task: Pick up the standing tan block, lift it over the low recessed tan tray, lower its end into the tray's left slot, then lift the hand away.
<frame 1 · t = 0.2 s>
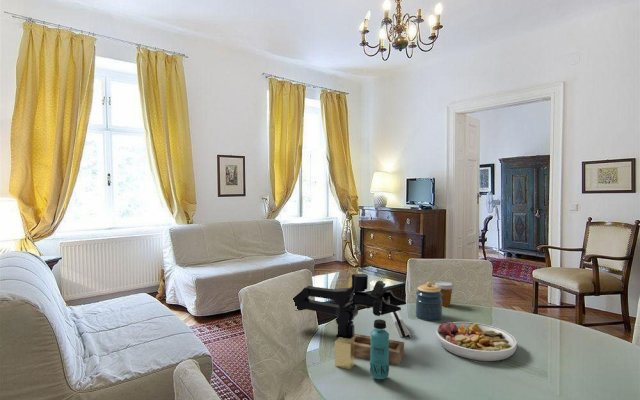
hand: (403, 305, 150), 17 cm above the table, tool horizontal, fingers open, 9 cm apart
bowl: (474, 347, 150), on the table
disposable coffee cup: (443, 305, 203), on the table
recessed tan tray: (375, 354, 144), on the table
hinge: (398, 330, 168), on the table
beverage bottle: (379, 379, 125), on the table
tan block: (344, 365, 135), on the table
canister: (428, 317, 185), on the table
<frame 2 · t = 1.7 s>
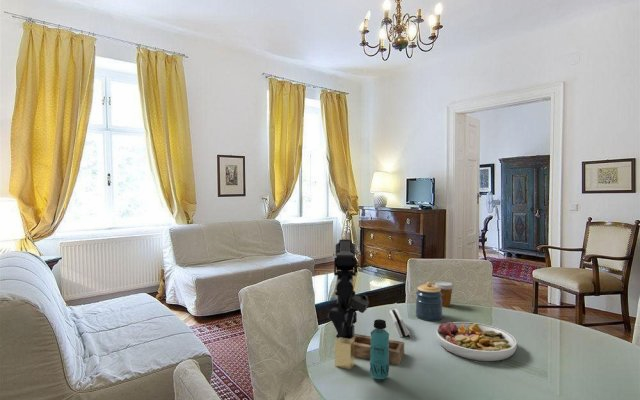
hand: (345, 331, 135), 13 cm above the table, tool pointing down, fingers open, 9 cm apart
nothing on the table moved.
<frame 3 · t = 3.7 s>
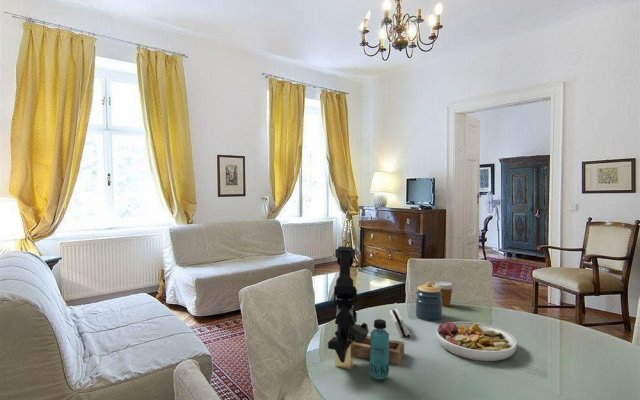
hand: (344, 359, 135), 2 cm above the table, tool pointing down, fingers closed on tan block, 4 cm apart
tan block: (344, 364, 135), on the table, touching gripper
everything else where it was.
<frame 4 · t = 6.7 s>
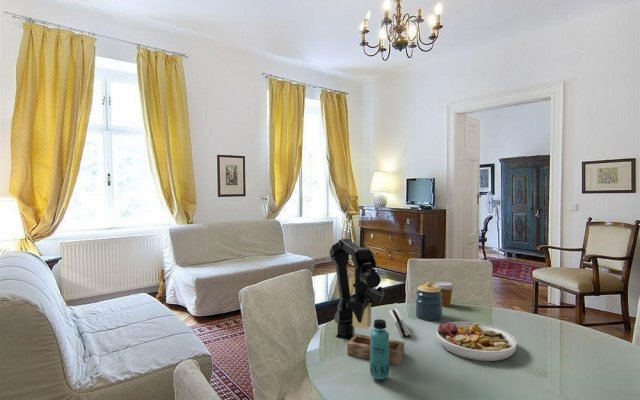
hand: (361, 320, 144), 13 cm above the table, tool pointing down, fingers closed on tan block, 4 cm apart
tan block: (361, 325, 144), point 11 cm above the table, touching gripper
everything else where it was.
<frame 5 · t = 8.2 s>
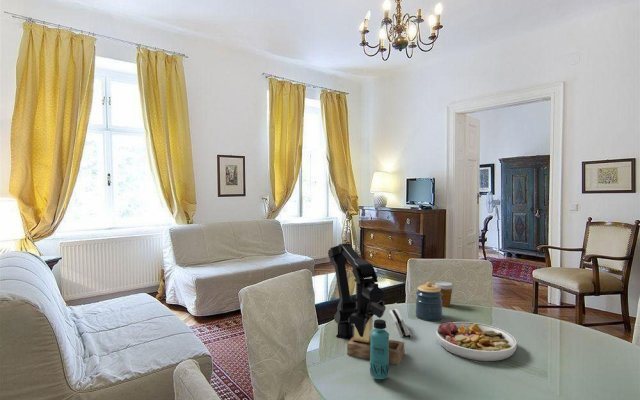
hand: (363, 334, 145), 7 cm above the table, tool pointing down, fingers closed on tan block, 4 cm apart
tan block: (363, 339, 145), point 5 cm above the table, touching gripper
everything else where it was.
when the fingers open (5 cm above the table, at t = 9.7 s): tan block drops 1 cm, resting on recessed tan tray.
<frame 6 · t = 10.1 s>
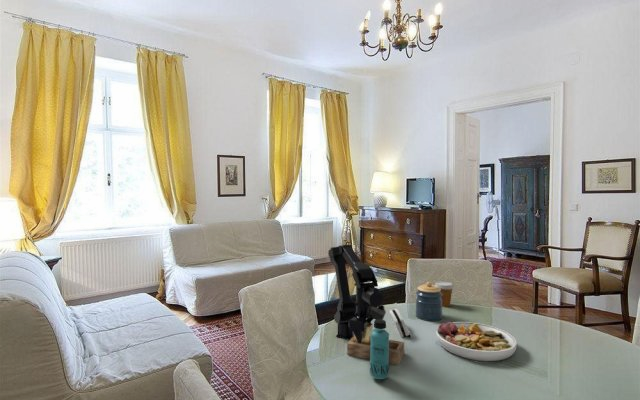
hand: (363, 338, 145), 5 cm above the table, tool pointing down, fingers open, 9 cm apart
tan block: (363, 346, 146), point 2 cm above the table, touching recessed tan tray
everything else where it was.
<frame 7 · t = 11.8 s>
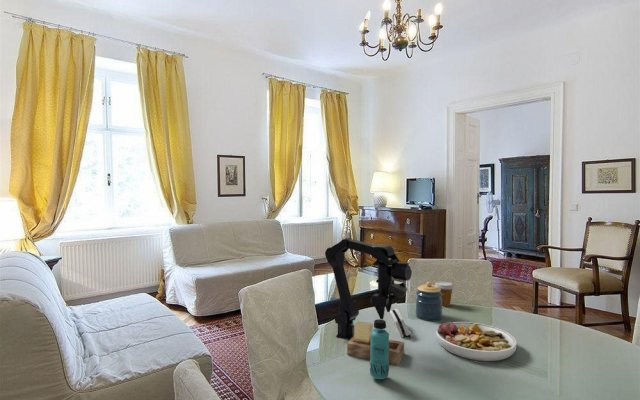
hand: (385, 315, 149), 13 cm above the table, tool pointing down, fingers open, 9 cm apart
nothing on the table moved.
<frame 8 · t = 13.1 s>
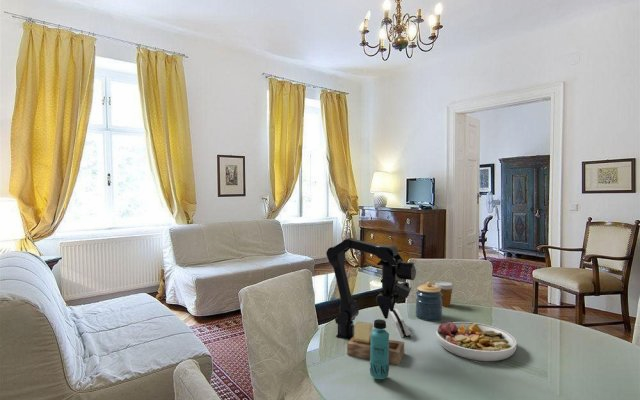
hand: (389, 314, 150), 13 cm above the table, tool pointing down, fingers open, 9 cm apart
nothing on the table moved.
at the end: tan block 0.0 cm from the target spot on the recessed tan tray, point 2.0 cm above the recessed tan tray's base; tan block tilted 0°; the gripper is holding nothing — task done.
